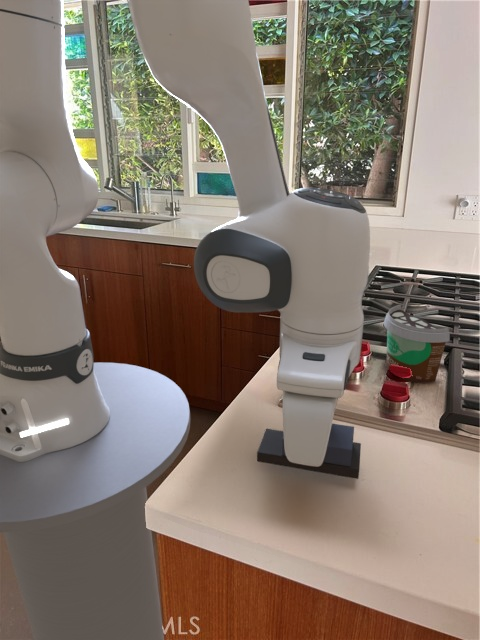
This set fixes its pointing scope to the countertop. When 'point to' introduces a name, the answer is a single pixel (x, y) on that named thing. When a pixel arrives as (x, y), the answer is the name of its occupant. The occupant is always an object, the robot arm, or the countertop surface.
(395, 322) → the food container
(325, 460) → the stepped blue block
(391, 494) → the countertop surface
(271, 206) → the robot arm
